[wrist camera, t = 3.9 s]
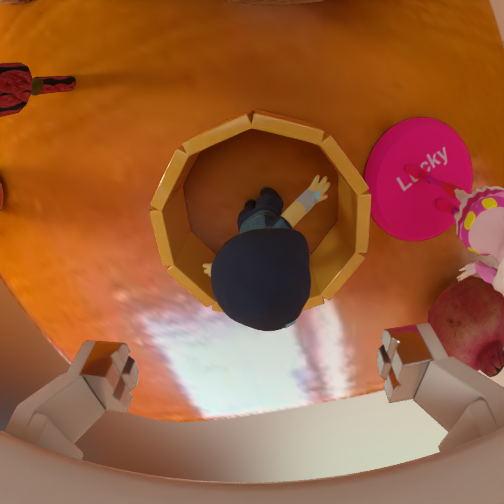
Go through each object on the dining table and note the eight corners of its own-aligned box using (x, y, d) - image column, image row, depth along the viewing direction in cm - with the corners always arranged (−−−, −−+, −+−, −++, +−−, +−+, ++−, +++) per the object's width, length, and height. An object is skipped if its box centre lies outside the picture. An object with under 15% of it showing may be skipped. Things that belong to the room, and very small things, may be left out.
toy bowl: (346, 106, 18) (372, 110, 14) (345, 273, 24) (360, 313, 20) (161, 121, 19) (133, 131, 15) (192, 283, 25) (178, 324, 20)
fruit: (410, 275, 24) (462, 361, 15) (483, 247, 22) (547, 314, 14) (413, 338, 27) (448, 418, 19) (478, 311, 26) (522, 379, 17)
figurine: (436, 92, 17) (615, 134, 4) (485, 195, 20) (611, 298, 7) (336, 168, 20) (451, 309, 7) (401, 262, 23) (489, 414, 10)
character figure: (232, 258, 24) (211, 389, 13) (194, 220, 22) (139, 337, 12) (332, 183, 21) (397, 281, 10) (295, 136, 19) (334, 190, 9)
